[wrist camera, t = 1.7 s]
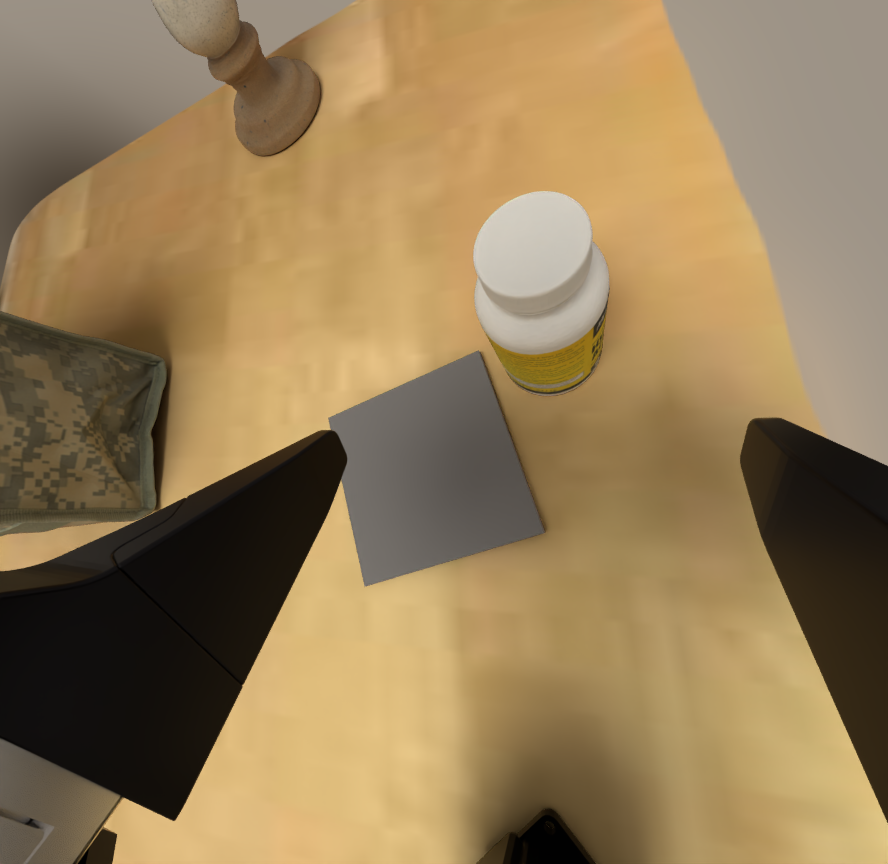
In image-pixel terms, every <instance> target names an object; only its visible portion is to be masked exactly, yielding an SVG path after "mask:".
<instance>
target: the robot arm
mask: <svg viewBox="0 0 888 864" xmlns="http://www.w3.org/2000/svg"><path fill="white" fill-rule="evenodd" d="M740 464H741V469H742V472H743V476H744V479H745V483H746V486H747V490H748V493H749V497H750V500H751V504H752V507H753V511H754V514H755V518H756V521H757V525H758V528H759V531H760V534H761V537H762V540H763V542H764V545H765V547H766V550H767V552H768V554H769V556H770V559H771V561H772V563H773V566H774V568H775V570H776V572H777V575H778V577H779V579H780V581H781V584H782V586H783V588H784V590H785V593H786V595H787V597H788V599H789V602H790V604H791V606H792V608H793V611H794V613H795V615H796V617H797V620H798V622H799V624H800V626H801V629H802V631H803V633H804V635H805V638H806V640H807V642H808V644H809V647H810V649H811V651H812V653H813V656H814V658H815V660H816V663H817V665H818V667H819V669H820V672H821V674H822V676H823V678H824V681H825V683H826V685H827V687H828V690H829V692H830V694H831V696H832V699H833V701H834V703H835V705H836V708H837V710H838V712H839V714H840V717H841V719H842V721H843V723H844V726H845V728H846V730H847V732H848V735H849V737H850V739H851V741H852V744H853V746H854V748H855V750H856V753H857V755H858V757H859V760H860V762H861V764H862V766H863V769H864V771H865V773H866V775H867V778H868V780H869V782H870V784H871V787H872V789H873V791H874V793H875V796H876V798H877V800H878V802H879V805H880V807H881V809H882V811H883V814H884V816H885V818H886V820H887V823H888V466H887V465H884V464H882V463H880V462H878V461H876V460H873V459H871V458H868V457H866V456H864V455H862V454H860V453H858V452H855V451H853V450H851V449H849V448H847V447H844V446H842V445H840V444H838V443H835V442H833V441H831V440H829V439H827V438H824V437H822V436H820V435H818V434H815V433H813V432H811V431H809V430H807V429H804V428H802V427H800V426H798V425H795V424H793V423H791V422H789V421H786V420H784V419H782V418H755V419H753V420H751V421H750V423H749V424H748V427H747V431H746V435H745V439H744V443H743V447H742V451H741V455H740ZM346 465H347V454H346V451H345V449H344V447H343V445H342V442H341V440H340V438H339V436H338V434H337V433H336V432H335V431H333V430H321V431H318V432H316V433H314V434H312V435H310V436H308V437H306V438H304V439H302V440H300V441H298V442H296V443H294V444H292V445H290V446H288V447H286V448H284V449H282V450H280V451H278V452H276V453H274V454H272V455H270V456H268V457H266V458H264V459H262V460H260V461H258V462H256V463H254V464H252V465H250V466H248V467H246V468H244V469H242V470H240V471H238V472H236V473H234V474H232V475H230V476H228V477H226V478H224V479H222V480H219V481H217V482H215V483H213V484H211V485H209V486H207V487H205V488H203V489H201V490H199V491H197V492H195V493H193V494H191V495H189V496H188V497H187V498H183V499H181V500H179V501H177V502H175V503H173V504H171V505H169V506H167V507H165V508H163V509H161V510H159V511H157V512H155V513H153V514H151V515H149V516H147V517H145V518H142V519H140V520H138V521H136V522H134V523H132V524H130V525H127V526H125V527H123V528H121V529H119V530H117V531H114V532H112V533H110V534H108V535H106V536H103V537H101V538H99V539H97V540H95V541H92V542H90V543H88V544H86V545H84V546H81V547H79V548H77V549H75V550H73V551H70V552H68V553H66V554H64V555H62V556H59V557H57V558H55V559H52V560H50V561H47V562H44V563H41V564H38V565H35V566H31V567H27V568H22V569H17V570H10V571H0V864H112V862H113V856H114V850H115V844H116V838H117V834H116V833H114V832H112V831H110V830H108V829H106V828H104V825H105V824H106V822H107V821H108V820H109V818H110V817H111V815H112V814H113V812H114V811H115V810H116V808H117V807H118V805H119V804H120V803H121V801H122V800H123V798H126V799H128V800H130V801H132V802H134V803H136V804H139V805H141V806H143V807H145V808H147V809H149V810H151V811H153V812H155V813H157V814H160V815H162V816H164V817H166V818H168V819H170V820H172V821H175V820H176V818H177V817H178V815H179V814H180V812H181V810H182V808H183V807H184V805H185V803H186V801H187V799H188V797H189V795H190V793H191V791H192V789H193V787H194V785H195V783H196V780H197V778H198V776H199V774H200V772H201V770H202V768H203V766H204V764H205V762H206V760H207V758H208V756H209V754H210V752H211V750H212V748H213V746H214V744H215V742H216V740H217V738H218V736H219V734H220V732H221V730H222V728H223V726H224V724H225V722H226V720H227V718H228V716H229V714H230V712H231V710H232V708H233V706H234V703H235V701H236V699H237V697H238V695H239V693H240V691H241V689H242V687H243V686H242V685H243V684H244V683H245V681H246V679H247V676H248V674H249V672H250V670H251V668H252V666H253V664H254V662H255V660H256V658H257V656H258V654H259V652H260V650H261V648H262V646H263V644H264V642H265V640H266V638H267V636H268V634H269V632H270V630H271V628H272V626H273V624H274V622H275V620H276V618H277V616H278V614H279V612H280V610H281V608H282V606H283V604H284V602H285V600H286V598H287V596H288V594H289V592H290V590H291V587H292V585H293V583H294V581H295V579H296V577H297V575H298V573H299V571H300V569H301V567H302V565H303V563H304V561H305V559H306V557H307V555H308V553H309V551H310V549H311V547H312V545H313V543H314V541H315V539H316V537H317V535H318V533H319V531H320V529H321V527H322V525H323V523H324V521H325V519H326V516H327V514H328V512H329V510H330V507H331V505H332V502H333V500H334V497H335V494H336V492H337V489H338V486H339V484H340V481H341V478H342V476H343V473H344V470H345V468H346ZM547 821H549V822H552V823H553V824H554V826H555V827H554V828H550V827H548V826H547V825H546V823H545V822H547ZM476 864H596V863H595V862H594V861H593V859H592V858H591V857H590V855H589V854H588V853H587V852H586V850H585V849H584V848H583V846H582V845H581V844H580V842H579V841H578V840H577V839H576V837H575V836H574V835H573V833H572V832H571V831H570V829H569V828H568V827H567V826H566V824H565V823H564V822H563V820H562V819H561V818H560V816H559V815H558V814H557V813H556V812H555V811H554V810H552V809H544V810H542V811H541V812H540V813H539V814H538V815H537V816H536V817H535V818H534V819H533V820H532V821H531V822H530V823H528V824H527V825H526V826H525V827H524V828H523V829H522V830H521V831H520V832H519V833H518V834H516V833H515V832H509V833H508V834H507V835H506V836H505V837H504V838H503V839H502V840H501V841H500V842H498V843H497V844H496V845H495V846H494V847H493V848H492V849H491V850H490V851H489V852H488V853H487V854H486V855H485V856H484V857H483V858H482V859H481V860H479V861H478V862H477V863H476Z"/></svg>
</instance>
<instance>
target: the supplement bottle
mask: <svg viewBox="0 0 888 864" xmlns="http://www.w3.org/2000/svg"><path fill="white" fill-rule="evenodd" d="M592 235H593V234H592V226H591V222H590V219H589V217H588V214H587V213H586V211H585V210H584V208H583V207H582V206H581V205H580V204H579V203H578V202H577V201H576V200H574V199H572V198H571V197H569V196H567V195H564V194H562V193H557V192H550V191H539V192H532V193H528V194H524V195H521V196H519V197H516V198H514V199H512V200H510V201H508V202H507V203H505V204H504V205H502V206H501V207H500V208H498V209H497V210H496V211H495V212H494V213H493V214H492V215H491V216H490V217H489V218H488V219H487V220H486V222H485V223H484V225H483V226H482V228H481V230H480V232H479V233H478V236H477V238H476V242H475V246H474V253H473V259H474V266H475V270H476V273H477V275H478V279H477V282H476V287H475V296H474V299H475V308H476V313H477V316H478V319H479V321H480V323H481V326H482V328H483V330H484V332H485V333H486V335H487V337H488V339H489V341H490V342H491V344H492V346H493V348H494V350H495V352H496V354H497V355H498V357H499V359H500V361H501V363H502V365H503V367H504V368H505V370H506V372H507V374H508V375H509V377H510V378H511V379H512V380H513V382H514V383H515V384H517V385H518V386H519V387H520V388H522V389H523V390H525V391H527V392H530V393H532V394H536V395H541V396H555V395H560V394H564V393H567V392H569V391H572V390H574V389H575V388H577V387H579V386H580V385H581V384H583V383H584V382H585V381H586V380H587V379H588V378H589V377H590V376H591V375H592V373H593V372H594V370H595V368H596V367H597V365H598V362H599V359H600V356H601V352H602V346H603V336H604V326H605V319H606V310H607V303H608V296H609V289H610V288H609V271H608V267H607V263H606V261H605V258H604V256H603V254H602V252H601V251H600V249H599V248H598V247H597V245H596V244H595V243H594V242H593V241H592Z"/></svg>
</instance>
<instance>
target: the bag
mask: <svg viewBox="0 0 888 864" xmlns="http://www.w3.org/2000/svg"><path fill="white" fill-rule="evenodd" d="M166 379H167V369H166V364H165V361H164V359H163V358H161V357H159V356H157V355H154V354H151V353H148V352H144V351H140V350H137V349H133V348H130V347H127V346H124V345H121V344H118V343H114V342H111V341H108V340H104V339H99V338H94V337H88V336H82V335H78V334H74V333H70V332H66V331H63V330H59V329H56V328H53V327H49V326H46V325H43V324H40V323H37V322H33V321H30V320H27V319H24V318H21V317H17V316H14V315H11V314H8V313H5V312H2V311H0V536H3V535H7V534H15V533H34V532H45V531H50V530H53V529H56V528H61V527H71V526H80V525H88V524H96V523H103V522H126V521H135V520H138V519H141V518H143V517H145V516H147V515H149V514H151V513H152V512H153V511H154V509H155V506H156V491H155V478H154V467H153V459H154V453H153V439H152V436H151V431H152V428H153V426H154V423H155V421H156V418H157V415H158V410H159V405H160V401H161V397H162V393H163V389H164V387H165V385H166Z"/></svg>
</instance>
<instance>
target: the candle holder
mask: <svg viewBox="0 0 888 864" xmlns="http://www.w3.org/2000/svg"><path fill="white" fill-rule="evenodd" d="M151 1H152V3H153V5H154V7H155V9H156V11H157V13H158V14H159V16H160V18H161V20H162V21H163V23H164V25H165V26H166V28H167V29H168V31H169V32H170V34H171V35H172V36H173V37H174V38H175V39H176V41H177V42H179V44H181V45H182V46H183V47H184V48H186V49H188V50H189V51H191V52H193V53H195V54H198V55H201V56H205V57H207V59H208V66H209V70H210V72H211V74H212V76H213V77H214V78H215V79H217V80H220V81H223V82H226V83H227V84H228V85H231V86H232V87H233V88H234V89H235V90H236V91H237V94H236V97H235V101H234V115H235V118H236V120H235V129H236V134H237V137H238V139H239V141H240V142H241V143H242V145H243V146H244V147H245V148H246V149H248V150H249V151H250V152H251V153H254V154H256V155H260V156H266V155H271V154H275V153H277V152H280V151H281V150H283V149H285V148H286V147H288V146H289V145H291V144H292V143H293V142H294V141H295V140H297V139H298V138H299V136H300V135H301V134H302V133H303V132H304V131H305V129H306V128H307V127H308V125H309V124H310V122H311V121H312V119H313V117H314V115H315V113H316V110H317V107H318V104H319V99H320V85H319V82H318V79H317V77H316V75H315V73H314V72H313V70H312V69H311V67H310V66H309V65H308V64H307V63H305V62H303V61H301V60H297V59H288V58H286V57H282V56H277V57H272V58H269V59H267V60H266V58H265V57H264V55H263V54H262V51H261V47H260V45H259V39H258V34H257V31H256V29H255V28H254V27H253V26H252V25H251V24H249V23H248V22H242V21H240V20H239V13H238V7H237V2H236V0H151Z"/></svg>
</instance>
